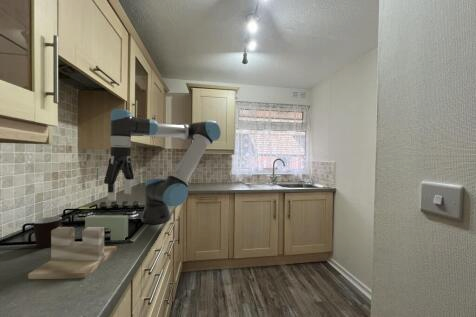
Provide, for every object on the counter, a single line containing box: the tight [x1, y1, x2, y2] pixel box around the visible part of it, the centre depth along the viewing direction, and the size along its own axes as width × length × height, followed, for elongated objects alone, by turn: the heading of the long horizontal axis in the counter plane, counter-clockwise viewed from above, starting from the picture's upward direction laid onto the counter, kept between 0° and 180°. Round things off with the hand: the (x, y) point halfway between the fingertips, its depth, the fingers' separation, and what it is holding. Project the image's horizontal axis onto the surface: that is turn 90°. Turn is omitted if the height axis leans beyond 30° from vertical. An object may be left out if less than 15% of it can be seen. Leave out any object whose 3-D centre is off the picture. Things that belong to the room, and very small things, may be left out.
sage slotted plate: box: [84, 214, 129, 241], centre depth 90 cm, size 16×3×10 cm, turn 93°
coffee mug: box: [32, 216, 63, 249], centre depth 85 cm, size 12×9×10 cm
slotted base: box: [27, 226, 118, 280], centre depth 71 cm, size 18×16×12 cm
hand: (120, 196), depth 90 cm, fingers open, 13 cm apart
